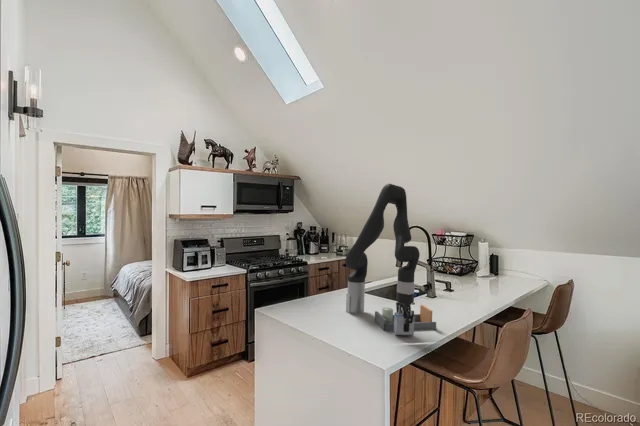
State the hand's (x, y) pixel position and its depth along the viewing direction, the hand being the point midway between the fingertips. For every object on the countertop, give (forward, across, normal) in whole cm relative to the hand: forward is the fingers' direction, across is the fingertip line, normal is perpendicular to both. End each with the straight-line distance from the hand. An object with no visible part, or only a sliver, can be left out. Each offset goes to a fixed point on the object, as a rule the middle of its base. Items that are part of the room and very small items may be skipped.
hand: (403, 329), depth 145 cm
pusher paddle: (+3, -13, +17) cm, 22 cm away
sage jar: (+3, -13, -3) cm, 13 cm away
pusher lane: (+4, -13, +6) cm, 15 cm away
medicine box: (+2, 0, 0) cm, 2 cm away
